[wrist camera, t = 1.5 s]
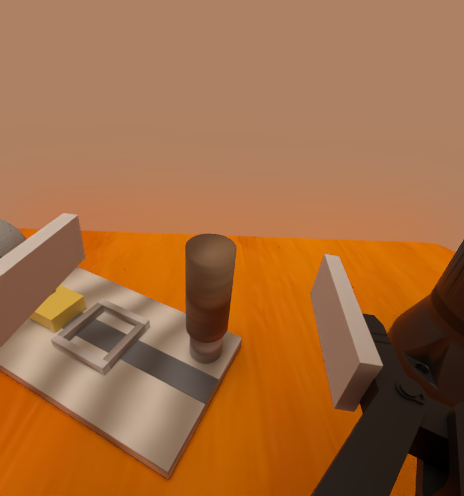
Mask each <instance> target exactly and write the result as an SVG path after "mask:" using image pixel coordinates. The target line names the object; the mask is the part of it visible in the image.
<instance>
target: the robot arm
mask: <svg viewBox="0 0 464 496" xmlns="http://www.w3.org/2000/svg"><path fill="white" fill-rule="evenodd" d="M84 259H85V254H84V248H83V242H82V236H81V230H80V225H79V219H78V215H73V214H66V213H63V214H62V215H60V216H59V217H57V218H56V219H55V220H54V221H52V222H50V223H49V224H48V225H46V226H45V227H44V228H42V229H41V230H39V231H38V232H37V233H35V234H34V235H32V236H31V237H30V238H28V239H27V240H25V241H24V242H23V243H21V244H20V245H18V246H17V247H16V248H14V249H13V250H11V251H10V252H9V253H7V254H6V255H5V256H3V257H1V256H0V348H1V347H2V346H3V345H4V344H5V342H6V341H7V340H8V339H9V338H10V337H11V336H12V335H13V334H14V333H15V332H16V331H17V330H18V329H19V328H20V327H21V326H22V324H23V323H24V322H25V321H26V320H27V319H28V318H29V317H30V316H31V315H32V314H33V313H34V312H35V311H36V310H37V309H38V308H39V306H40V305H41V304H42V303H43V302H44V301H45V300H46V299H47V298H48V297H49V296H50V295H51V294H52V293H53V292H54V291H55V290H56V288H57V287H58V286H59V285H60V284H61V283H62V282H63V281H64V280H65V279H66V278H67V277H68V276H69V275H70V274H71V273H72V272H73V271H74V269H75V268H76V267H77V266H78V265H79V264H80V263H81V262H82V261H83V260H84ZM311 299H312V304H313V309H314V314H315V319H316V323H317V328H318V333H319V338H320V343H321V347H322V352H323V357H324V362H325V367H326V372H327V376H328V381H329V386H330V391H331V396H332V400H333V405H334V408H335V409H341V410H347V411H353V412H354V411H355V410H356V408H357V407H358V405H359V403H360V405H361V408H362V412H363V415H362V416H361V418H360V419H359V421H358V422H357V424H356V425H355V427H354V428H353V430H352V432H351V433H350V435H349V437H348V438H347V440H346V441H345V443H344V444H343V446H342V447H341V449H340V451H339V452H338V454H337V455H336V457H335V458H334V460H333V462H332V463H331V465H330V466H329V468H328V469H327V471H326V472H325V474H324V476H323V477H322V479H321V480H320V482H319V483H318V485H317V487H316V488H315V490H314V491H313V493H312V494H311V496H389V495H390V493H391V491H392V488H393V486H394V484H395V481H396V479H397V477H398V474H399V472H400V470H401V468H402V465H403V463H404V461H405V458H406V456H407V454H408V453H409V454H411V455H413V456H415V457H417V472H416V493H415V496H464V240H463V242H462V244H461V245H460V247H459V248H458V250H457V252H456V253H455V255H454V257H453V258H452V260H451V261H450V263H449V265H448V266H447V268H446V270H445V271H444V273H443V274H442V276H441V278H440V279H439V281H438V283H437V284H436V286H435V288H434V289H433V291H432V292H431V294H430V295H428V296H427V297H425V298H424V299H422V300H421V301H420V302H418V303H417V304H415V305H414V306H413V307H411V308H410V309H408V310H407V311H405V312H404V313H403V314H401V315H400V316H399V317H398V318H397V319H396V320H395V322H394V323H393V325H392V327H391V328H390V330H389V332H388V334H387V333H386V330H385V328H384V326H383V324H382V323H381V322H380V321H379V320H378V319H377V318H376V317H375V316H374V315H368V314H362V312H361V310H360V307H359V305H358V302H357V300H356V297H355V295H354V292H353V290H352V287H351V285H350V282H349V280H348V277H347V275H346V272H345V270H344V267H343V265H342V262H341V260H340V257H339V256H334V255H327V254H324V257H323V260H322V263H321V266H320V268H319V271H318V274H317V277H316V280H315V282H314V285H313V288H312V291H311Z"/></svg>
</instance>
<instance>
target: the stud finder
mask: <svg viewBox="0 0 464 496" xmlns="http://www.w3.org/2000/svg"><path fill="white" fill-rule="evenodd" d="M86 308H87V307H86V303H85V299H84V296H82V295H80V294H78V293H76V292H74V291H72V290H70V289H67V288H65V287H63V286H61V285H59V286H58V287H57V288H56V290H55V291H54V292H53V293H52V294H51V295H50V296H49V297H48V298H47V299H46V300H45V301H44V302H43V303H42V304H41V305H40V306H39V308H38V309H37V310H36V311H35V312H34V313H33V314H32V315H31V316H30V317H29V318H30V319H32V320H34V321H35V322H37V323H39V324H41V325H43V326H45V327H47V328H48V329H50V330H52V331H54V332H57V331H58V330H59V329H60V328H62V327H63V326H64V325H66V324H67V323H68V322H69V321H71V320H72V319H73V318H74V317H76V316H77V315H78V314H80V313H81V312H82V311H83V310H85V309H86Z"/></svg>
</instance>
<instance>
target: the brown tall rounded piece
mask: <svg viewBox="0 0 464 496" xmlns="http://www.w3.org/2000/svg"><path fill="white" fill-rule="evenodd" d="M185 249H186V330H187V333H188V334H189V336H190V355H191V357H192V358H193V359H194V360H195V361H197V362H199V363H203V364H207V363H212V362H214V361H216V360H217V359H218V358H219V357H220V355H221V351H222V341H223V336H224V335H225V334H226V332H227V329H228V320H229V311H230V302H231V293H232V285H233V276H234V267H235V258H236V245H235V243H234V242H233V241H232V240H230V239H229V238H227V237H225V236H222V235H218V234H201V235H197V236H195V237H193V238H191V239H190V240H188V242H187V243H186V246H185Z"/></svg>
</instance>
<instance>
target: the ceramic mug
mask: <svg viewBox="0 0 464 496" xmlns="http://www.w3.org/2000/svg"><path fill="white" fill-rule="evenodd" d="M25 240H26V238H25V237H24V235H23V234H22V233H21V232H20V231H19V230H18V229H17V228H16V227H14V226H13V225H11V224H9V223H8V222H5V221H3V220H1V219H0V256H1V257H3V256H5V255H6V254H7V253H9V252H10V251H11V250H13V249H14V248H16V247H17V246H18V245H20V244H21V243H23V242H24V241H25Z"/></svg>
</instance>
